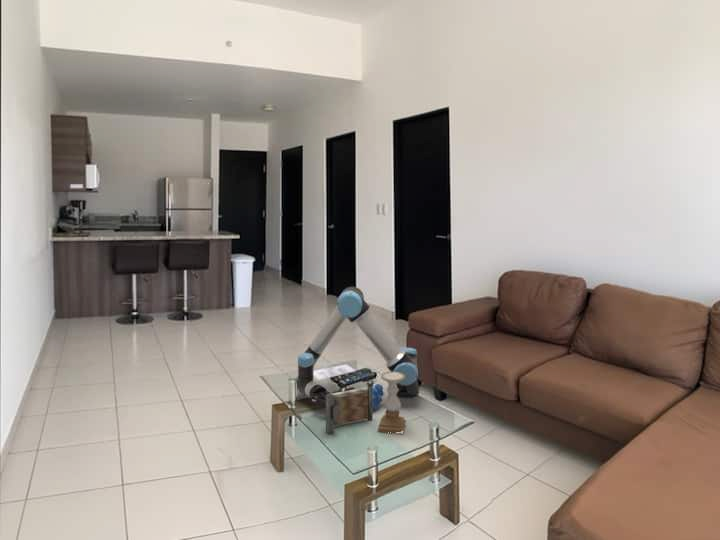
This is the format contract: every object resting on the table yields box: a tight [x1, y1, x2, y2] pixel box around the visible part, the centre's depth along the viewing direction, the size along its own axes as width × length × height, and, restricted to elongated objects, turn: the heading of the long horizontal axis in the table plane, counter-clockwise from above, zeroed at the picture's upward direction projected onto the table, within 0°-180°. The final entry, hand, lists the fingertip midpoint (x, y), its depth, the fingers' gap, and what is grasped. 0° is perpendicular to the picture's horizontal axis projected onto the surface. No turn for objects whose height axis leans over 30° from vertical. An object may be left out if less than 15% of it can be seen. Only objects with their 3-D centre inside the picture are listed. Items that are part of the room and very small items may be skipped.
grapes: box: [373, 383, 385, 412], centre depth 248 cm, size 12×7×12 cm, turn 151°
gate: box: [331, 387, 368, 427], centre depth 231 cm, size 18×2×14 cm, turn 116°
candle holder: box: [377, 371, 407, 434], centre depth 228 cm, size 11×11×24 cm
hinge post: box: [366, 380, 375, 422], centre depth 236 cm, size 3×3×18 cm
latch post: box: [325, 392, 339, 435], centre depth 223 cm, size 4×4×17 cm
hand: (343, 409), depth 232 cm, fingers closed
